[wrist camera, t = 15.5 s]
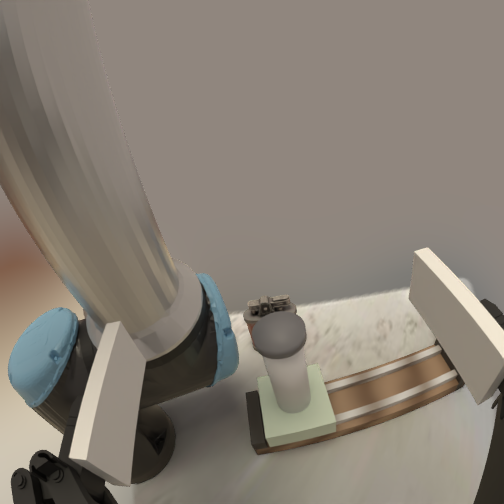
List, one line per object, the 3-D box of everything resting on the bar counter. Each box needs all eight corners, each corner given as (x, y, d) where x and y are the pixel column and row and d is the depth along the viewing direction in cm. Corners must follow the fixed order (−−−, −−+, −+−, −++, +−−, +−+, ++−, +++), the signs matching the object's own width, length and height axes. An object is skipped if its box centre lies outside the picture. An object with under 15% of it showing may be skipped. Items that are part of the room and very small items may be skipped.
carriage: (270, 447, 31) (237, 379, 23) (261, 389, 39) (231, 307, 31) (336, 431, 31) (336, 356, 23) (319, 375, 38) (309, 288, 30)
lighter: (253, 354, 49) (238, 310, 43) (253, 339, 51) (239, 295, 46) (302, 347, 48) (295, 302, 42) (300, 332, 50) (292, 287, 45)
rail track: (258, 454, 33) (251, 444, 31) (251, 406, 40) (245, 392, 38) (463, 386, 32) (471, 370, 30) (439, 349, 39) (445, 332, 37)
